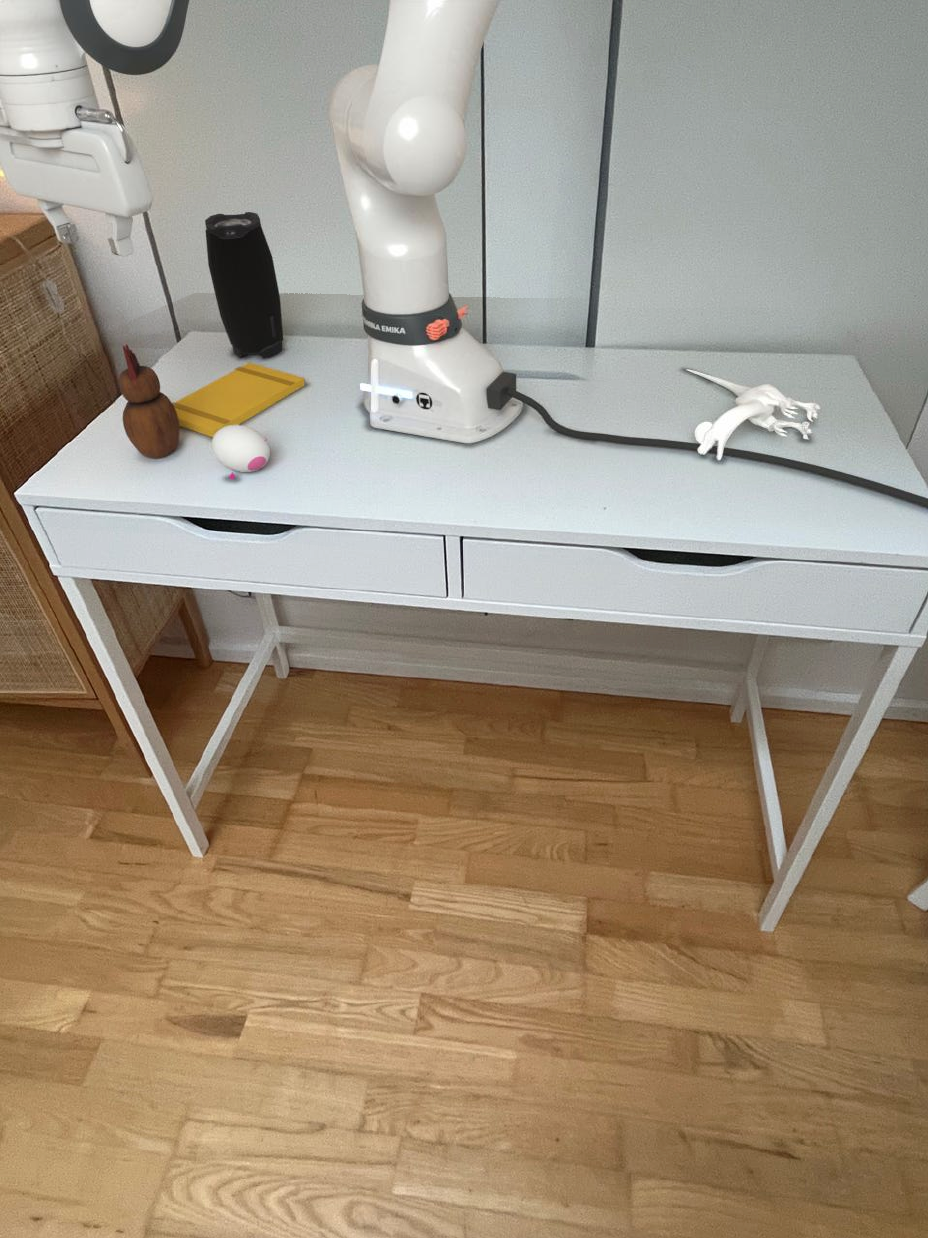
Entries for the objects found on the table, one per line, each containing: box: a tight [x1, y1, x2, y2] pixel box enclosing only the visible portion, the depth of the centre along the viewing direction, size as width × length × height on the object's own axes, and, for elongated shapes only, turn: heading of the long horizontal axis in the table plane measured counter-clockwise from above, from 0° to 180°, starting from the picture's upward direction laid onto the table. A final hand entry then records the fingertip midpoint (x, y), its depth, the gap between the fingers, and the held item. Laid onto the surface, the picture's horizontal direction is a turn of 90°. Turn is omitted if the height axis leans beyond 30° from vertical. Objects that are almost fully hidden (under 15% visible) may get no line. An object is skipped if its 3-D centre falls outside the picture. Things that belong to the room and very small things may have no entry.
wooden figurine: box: [118, 344, 180, 459], centre depth 104 cm, size 7×6×15 cm
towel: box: [172, 362, 306, 438], centre depth 118 cm, size 11×18×1 cm, turn 147°
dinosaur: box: [685, 368, 821, 461], centre depth 110 cm, size 25×9×16 cm
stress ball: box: [211, 424, 271, 481], centre depth 104 cm, size 8×8×7 cm
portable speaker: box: [204, 211, 284, 359], centre depth 125 cm, size 9×9×20 cm
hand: (96, 247), depth 92 cm, fingers open, 8 cm apart
